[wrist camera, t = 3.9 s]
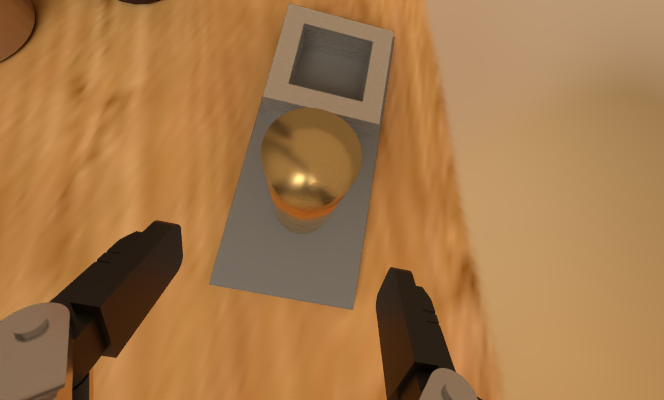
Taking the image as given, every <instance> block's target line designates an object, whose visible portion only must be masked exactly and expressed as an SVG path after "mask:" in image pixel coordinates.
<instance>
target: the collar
mask: <svg viewBox="0 0 664 400" xmlns="http://www.w3.org/2000/svg"><path fill="white" fill-rule="evenodd" d="M393 32H394V31H390V30H386V29H383V28H379V27H375V26H371V25H368V24H364V23H360V22H357V21H353V20H349V19H345V18H342V17H338V16H334V15H331V14H327V13H323V12H319V11H316V10H312V9H308V8H305V7H301V6H297V5H294V4H290V3H289V6H288V10H287V13H286V17H285V20H284V24H283V27H282V31H281V34H280V38H279V41H278V45H277V48H276V52H275V55H274V59H273V62H272V66H271V69H270V73H269V76H268V80H267V83H266V87H265V90H264V94H263V101H264V106H265V111H266V115H268V116H272V117H276V118H279V117H280V116H282V115H283V114H285V113H287V112H289V111H292V110H295V109H300V108H318V109H323V110H326V111H329V112H331V113H334V114H335V115H337V116H339V117H340V118H342V119H343V120H344V121H345V122H346V123H348V124H349V126H350V127H351V128H352V129H353V131H354V132H355V134H356V136H358V137H362V138H366V139H371V137H372V136H373V134H374V132H375V131H376V129H377V127H378V125H379V123H380V116H381V110H382V103H383V97H384V90H385V84H386V77H387V71H388V64H389V58H390V51H391V45H392V38H393ZM303 48H305V49H309V50H313V51H317V52H321V53H325V54H329V55H333V56H337V57H340V58H344V59H348V60H352V61H356V62H360V63H364V64H365V69H364V74H363V80H362V86H361V91H360V97H359V101H357V100H353V99H349V98H345V97H341V96H337V95H332V94H328V93H324V92H320V91H316V90H312V89H308V88H304V87H300V86H296V85H294V82H295V78H296V74H297V70H298V66H299V62H300V58H301V54H302V50H303Z"/></svg>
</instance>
